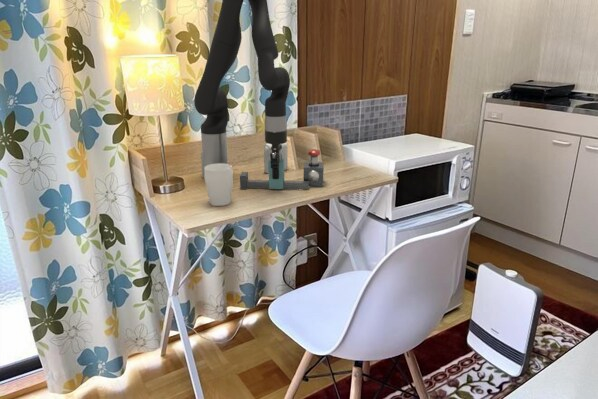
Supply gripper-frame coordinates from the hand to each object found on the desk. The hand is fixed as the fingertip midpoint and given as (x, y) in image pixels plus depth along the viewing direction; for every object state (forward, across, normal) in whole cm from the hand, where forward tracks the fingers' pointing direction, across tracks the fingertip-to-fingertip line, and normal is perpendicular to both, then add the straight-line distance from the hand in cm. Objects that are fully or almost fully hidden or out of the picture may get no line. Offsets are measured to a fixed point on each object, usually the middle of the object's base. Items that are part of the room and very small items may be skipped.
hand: (276, 176), depth 162 cm
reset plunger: (-1, -6, +13) cm, 14 cm away
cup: (+5, +16, -17) cm, 23 cm away
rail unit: (+4, -4, +2) cm, 6 cm away
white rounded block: (+5, -21, -3) cm, 22 cm away
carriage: (+4, 0, 0) cm, 4 cm away
